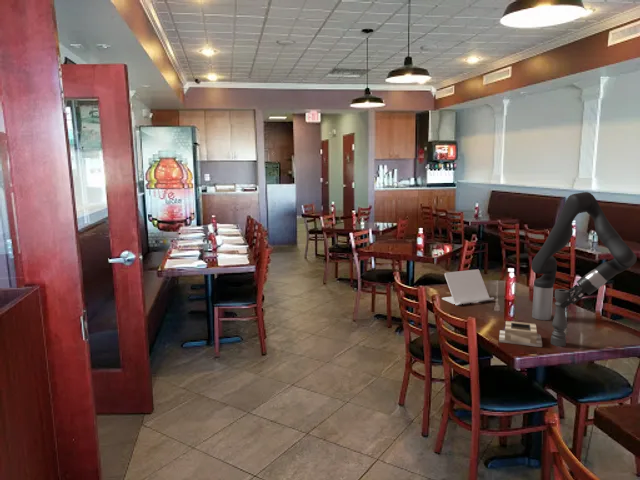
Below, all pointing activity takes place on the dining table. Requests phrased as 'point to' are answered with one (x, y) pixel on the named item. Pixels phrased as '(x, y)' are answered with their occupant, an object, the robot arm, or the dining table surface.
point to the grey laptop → (466, 287)
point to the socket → (520, 334)
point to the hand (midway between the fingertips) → (560, 304)
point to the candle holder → (559, 319)
